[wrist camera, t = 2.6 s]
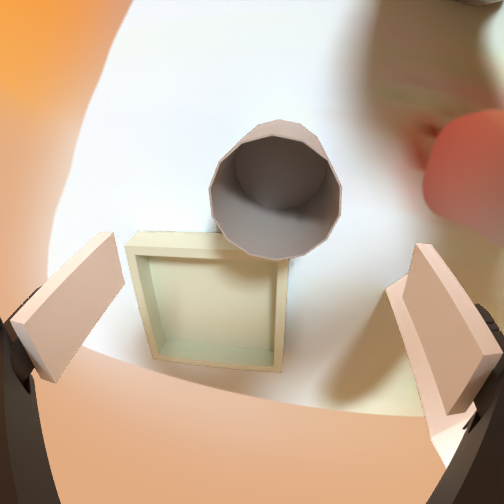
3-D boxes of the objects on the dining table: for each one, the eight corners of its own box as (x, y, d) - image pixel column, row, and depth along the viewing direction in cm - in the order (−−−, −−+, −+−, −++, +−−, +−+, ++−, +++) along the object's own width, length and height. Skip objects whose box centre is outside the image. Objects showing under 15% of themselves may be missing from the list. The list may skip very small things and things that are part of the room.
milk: (384, 288, 34) (435, 476, 14) (428, 256, 31) (517, 432, 12) (408, 319, 35) (456, 488, 16) (449, 291, 33) (523, 452, 13)
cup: (249, 215, 32) (231, 269, 23) (223, 134, 28) (190, 156, 19) (335, 197, 30) (352, 245, 21) (315, 111, 26) (326, 121, 17)
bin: (138, 230, 34) (124, 245, 31) (289, 235, 32) (289, 252, 29) (161, 340, 41) (153, 359, 38) (283, 352, 40) (281, 372, 36)
